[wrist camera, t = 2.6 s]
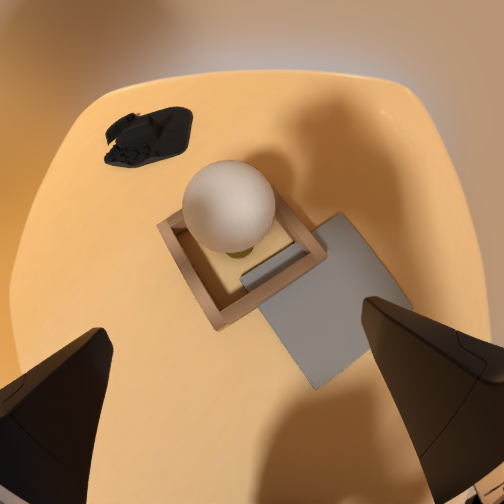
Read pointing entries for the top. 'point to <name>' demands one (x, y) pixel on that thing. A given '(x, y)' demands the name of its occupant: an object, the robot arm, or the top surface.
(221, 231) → the light bulb
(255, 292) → the holder frame
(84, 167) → the top surface
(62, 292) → the top surface
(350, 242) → the coaster
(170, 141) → the black irregular lumpy piece
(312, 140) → the top surface
